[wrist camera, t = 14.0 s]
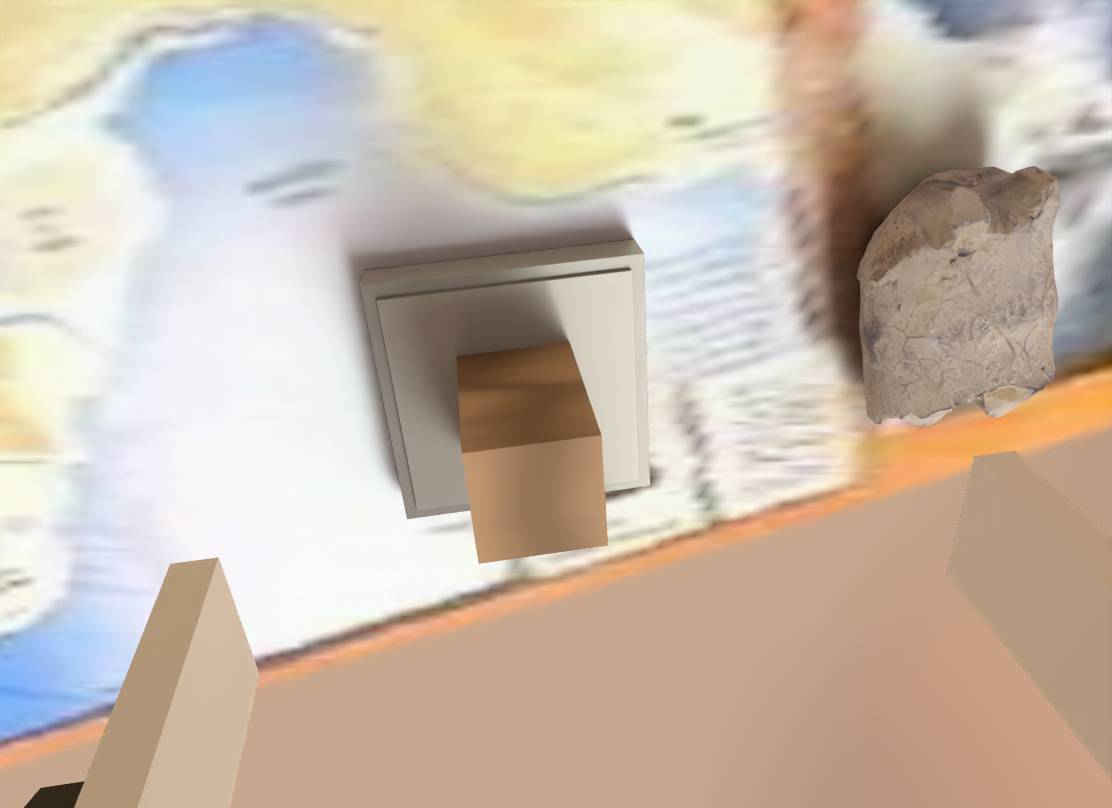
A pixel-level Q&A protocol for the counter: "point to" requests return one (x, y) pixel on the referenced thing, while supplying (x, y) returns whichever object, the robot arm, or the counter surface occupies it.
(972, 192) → the stone
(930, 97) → the counter surface
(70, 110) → the counter surface
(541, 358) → the block
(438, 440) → the board
